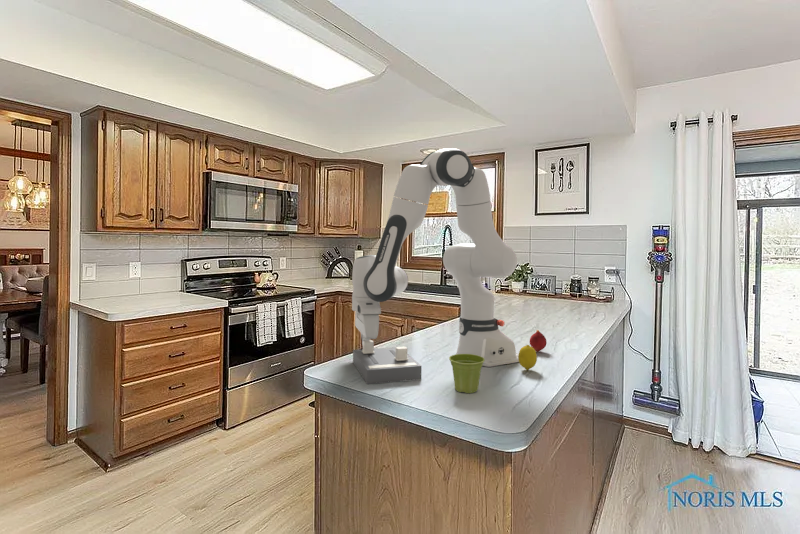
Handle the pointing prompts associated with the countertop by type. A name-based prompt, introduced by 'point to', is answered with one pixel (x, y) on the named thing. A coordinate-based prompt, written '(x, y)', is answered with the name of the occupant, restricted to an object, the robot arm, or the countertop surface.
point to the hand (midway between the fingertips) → (365, 346)
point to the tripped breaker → (368, 347)
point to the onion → (538, 341)
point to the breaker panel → (385, 366)
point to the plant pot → (466, 371)
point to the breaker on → (401, 354)
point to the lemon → (527, 357)
